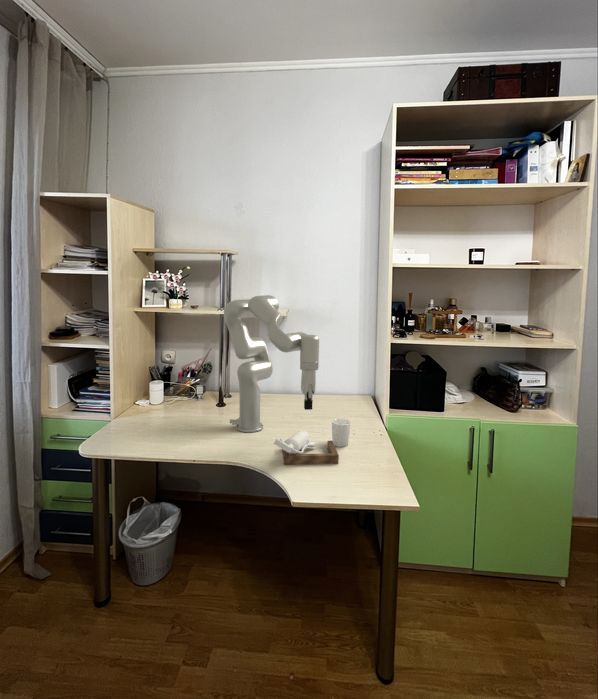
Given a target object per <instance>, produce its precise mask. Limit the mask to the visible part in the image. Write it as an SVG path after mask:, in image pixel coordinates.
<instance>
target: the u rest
mask: <svg viewBox="0 0 598 699" xmlns="http://www.w3.org/2000/svg"><path fill="white" fill-rule="evenodd" d="M283 441H284V440H283ZM285 441H286V440H285ZM285 441H284V442H285ZM326 445H327V446H326V447H327V448H326V449H327V452H328V453H327V452H326V453H325V452H324V453H300V454H299V453H296V454H289V453H288V452H286V451H285V450H283V449H281V452H282V459H283V465H284V466H289V465H290V466H292V465H293V466H295V465H298V466H299V465H303V466H305V465H338V464H339V462H340V461H339V459H340V455H339V452H338V450H337V448H336V446H335V445H334V444H333V441H332V440H327V444H326Z"/></svg>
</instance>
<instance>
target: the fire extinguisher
mask: <svg viewBox="0 0 598 699" xmlns="http://www.w3.org/2000/svg"><path fill="white" fill-rule="evenodd" d="M309 441H310V435H309V433H308V432H307V431H305V430H298V431H297V432H296V433H294V434H292V435H291V436H289V437H288V438H287V439H286V440H285V442H284V438H282V437H281V438H279V439H278V438H275V440H274V442H273V445H275V446H277V447H278V448H280V449H281V450H282V449H283V450H285V451H286V452H288V453H289V454H304V453H305V449H306V448H307V447H308V448H316V447H317V444H316V443H315V441H312V442H309ZM300 450H301V451H300Z"/></svg>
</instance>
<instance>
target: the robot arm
mask: <svg viewBox="0 0 598 699" xmlns="http://www.w3.org/2000/svg"><path fill="white" fill-rule="evenodd" d="M279 307H280V303H279V301H278V299H277V298H276V297H275V296H273V295H269V294H268V295H255V296H253V297H251V298H249V299H247V298H246V299H234V300H231V301H229V302H227V304H226V305H225V306H224V309H223V320H224V322H225V325H226V327H227V329H228V332H229V335H230V339H231V342H232V346H233V351H234V353H235V356H236V357H237V359H238V360H249V361H245V362H242V363H241V364H239V366H238V367H237V371H236V373H237V379H238V385H239V386H238V389H239V394H238V395H239V417H238V418H236V419H233V418H231V419H229V424H231V425H232V426H234V425H235V429H236V430H237V431H239V432H241V433H257V432H260V431H261V430H263V429H264V424H263V423H261V390H260V386H259V385H258V383H257V382H258V381H262V380H266V379H269V378H271V376H272V375H273V370H274V368H273V363H272V360H271V357H270V356H271V355H270V354H269V349H268V346H267V343H266V342H265V340H264V339H263V338H261V337H258V336H257V337H256V336H253V337H251V335H250V332H249V329H248V326H247V325H246V323H244V322H245V321H242V319H248V318H251V319H252V318H256V319H258V321H260V323H262V324H263V326H264V327H265V328H266V334H267V337H268V340H269V341H270V343H271V344H272V345H273V346H274V347H275V348H276V349H278V351H281V352H283V353H291V352H296V351H297V352H298V351H299V354H300V355H299V356H300V357H299V359H300V360H299V369H300V370H301V377H300V378H301V379H300V380H301V381H300V391H301V393H302V394H303V396H304V399H303V404H304V405H303V409H304V410H306V411H307V410H313V395H315V393H316V380H317V378H316V377H317V376H316V373H317V372H316V371H319V366H320V365H319V362H320V361H319V360H320V359H319V358H320V357H319V356H320V337H319V336H318V335H315V334H307V333H305V332H302V331H297V332H291V333H290V332H289V333H285V332H284V331H283V330H282V329H280V327H279V326H280V324H282V321H283V315H282V313H281V312H279V309H280V308H279ZM250 359H253V360H250Z"/></svg>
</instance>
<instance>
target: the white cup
mask: <svg viewBox="0 0 598 699" xmlns="http://www.w3.org/2000/svg"><path fill="white" fill-rule="evenodd" d="M350 432H351V421H350V420H349V419H344V418H335V419H333V420H331V438H332V439H331V441H333V444H334V446H335V447H338V448H339V447H341V448H343V447H347V446H348V445H349V439H350Z"/></svg>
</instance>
